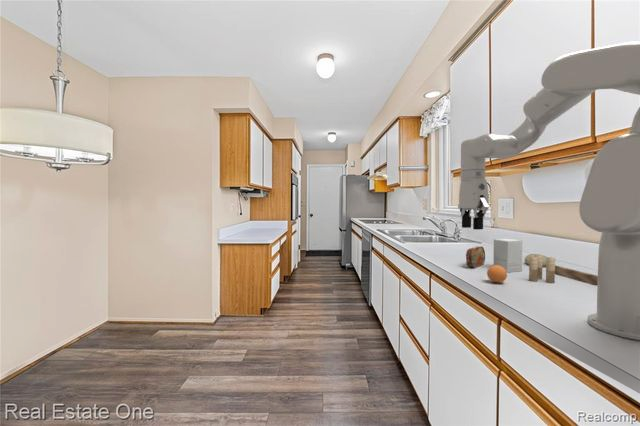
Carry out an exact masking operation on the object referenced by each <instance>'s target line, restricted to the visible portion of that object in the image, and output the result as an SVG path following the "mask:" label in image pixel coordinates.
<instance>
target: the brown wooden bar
mask: <svg viewBox="0 0 640 426" xmlns="http://www.w3.org/2000/svg"><path fill="white" fill-rule="evenodd" d="M555 275H558V276H562V277H565V278H568V279H573V280H575V281H579V282H583V283H586V284H590V285H593V286H597V285H598V274H597V275H596V274H592V273H588V272H584V271H580V270H577V269H576V270H575V269H571V268H568V267H563V266H559V265H556V264H555Z"/></svg>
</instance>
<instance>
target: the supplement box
mask: <svg viewBox="0 0 640 426" xmlns="http://www.w3.org/2000/svg"><path fill="white" fill-rule="evenodd" d="M494 265H498V266H501V267H503V268H504V269H505V270H506V272H507V273H516V272H518V273H519V272H523V240H520V239H513V238H495V239H493V266H494Z"/></svg>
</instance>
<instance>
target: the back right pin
mask: <svg viewBox="0 0 640 426" xmlns="http://www.w3.org/2000/svg"><path fill="white" fill-rule="evenodd" d="M546 257H547V256H546ZM555 265H556V258H555V257H547V258H546V266H545V282H546V283H548V284H554V283H555V281H556V279H555V278H556V277H555V275H556V274H555Z"/></svg>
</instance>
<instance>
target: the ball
mask: <svg viewBox="0 0 640 426" xmlns="http://www.w3.org/2000/svg"><path fill="white" fill-rule="evenodd" d="M486 275H487V277H488V279H489V280H490V281H491V282H493V283H496V284H499V283H503V282H504V281H505V280H506V279H507V277H508V272H506V270H505V269H504V268H503V267H501V266H498V265H494V264H493V265H492V266H490V267H489V268H488V269H487V272H486Z"/></svg>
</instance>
